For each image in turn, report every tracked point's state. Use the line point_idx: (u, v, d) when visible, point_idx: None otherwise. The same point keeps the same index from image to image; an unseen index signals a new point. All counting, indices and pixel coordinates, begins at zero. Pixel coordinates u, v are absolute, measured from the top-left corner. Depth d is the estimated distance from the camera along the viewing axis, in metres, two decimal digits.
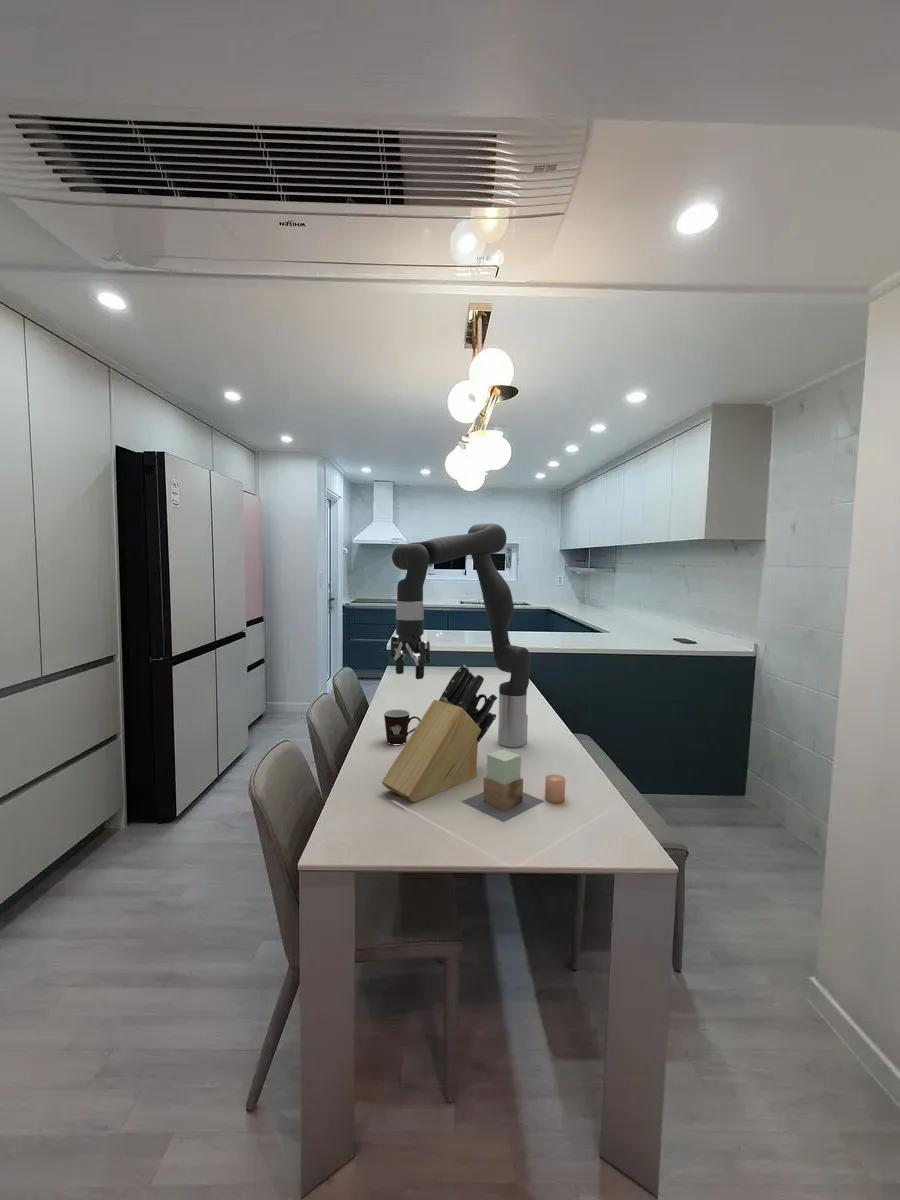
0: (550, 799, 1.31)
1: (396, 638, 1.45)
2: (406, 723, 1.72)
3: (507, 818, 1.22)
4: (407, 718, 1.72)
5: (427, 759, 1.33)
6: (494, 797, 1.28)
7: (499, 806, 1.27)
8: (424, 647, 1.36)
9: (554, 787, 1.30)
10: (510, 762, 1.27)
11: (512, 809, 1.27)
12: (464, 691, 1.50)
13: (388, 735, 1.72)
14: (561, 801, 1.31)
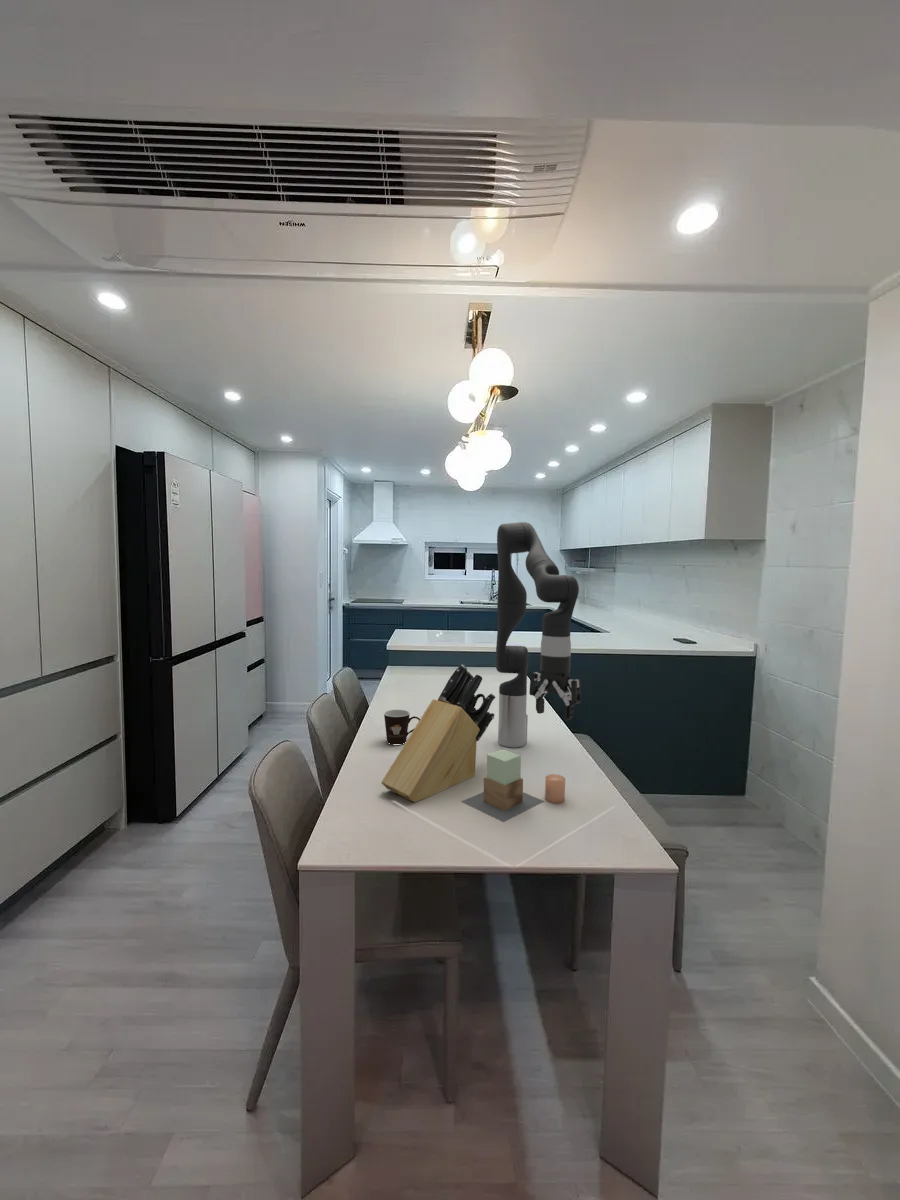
0: (550, 799, 1.31)
1: (537, 675, 1.35)
2: (406, 723, 1.72)
3: (507, 818, 1.22)
4: (407, 718, 1.72)
5: (427, 758, 1.33)
6: (494, 797, 1.28)
7: (499, 806, 1.27)
8: (576, 686, 1.27)
9: (553, 787, 1.30)
10: (510, 762, 1.27)
11: (512, 809, 1.27)
12: (463, 690, 1.51)
13: (388, 735, 1.72)
14: (561, 801, 1.31)
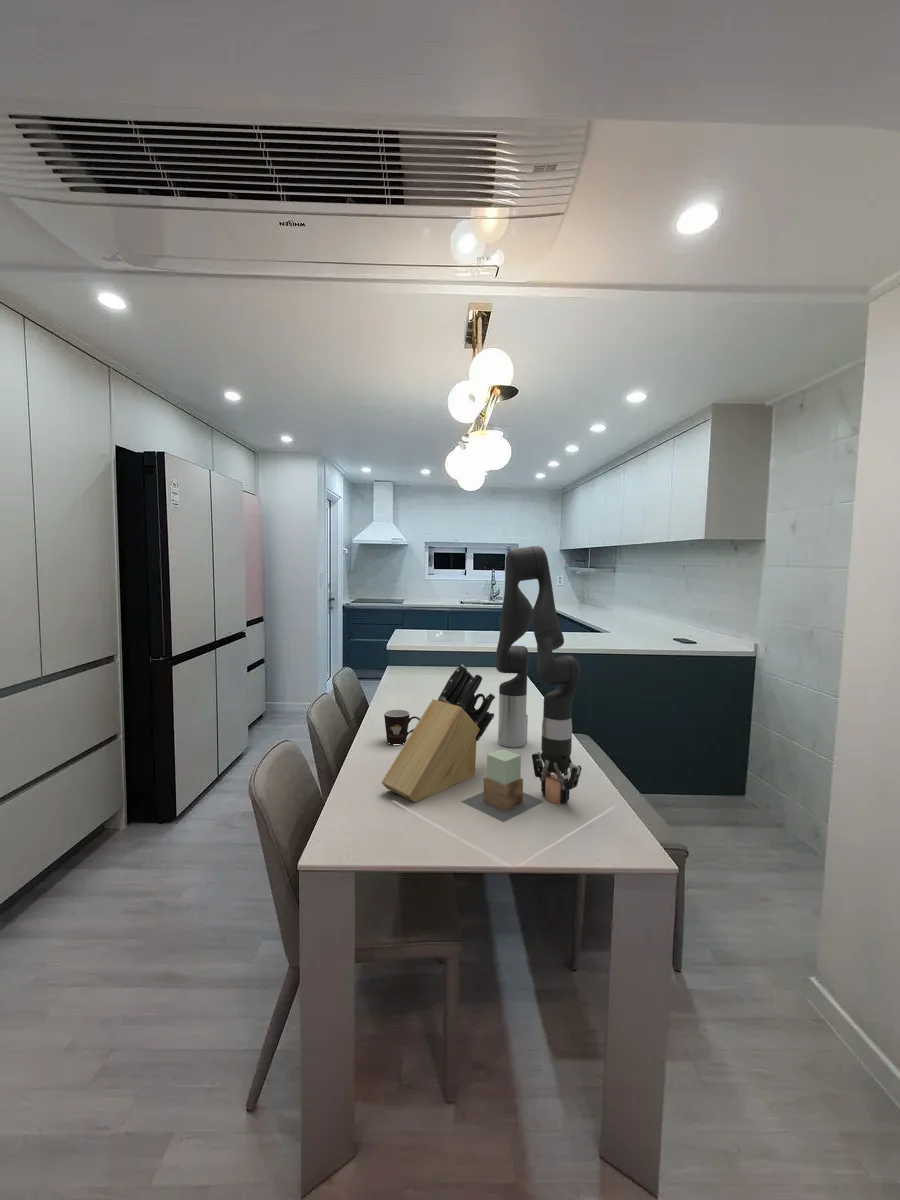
0: (550, 799, 1.31)
1: (538, 755, 1.36)
2: (406, 723, 1.72)
3: (507, 818, 1.22)
4: (407, 718, 1.72)
5: (427, 758, 1.33)
6: (494, 797, 1.28)
7: (499, 806, 1.27)
8: (576, 774, 1.27)
9: (554, 787, 1.30)
10: (510, 762, 1.27)
11: (512, 809, 1.27)
12: (462, 690, 1.51)
13: (388, 735, 1.72)
14: None
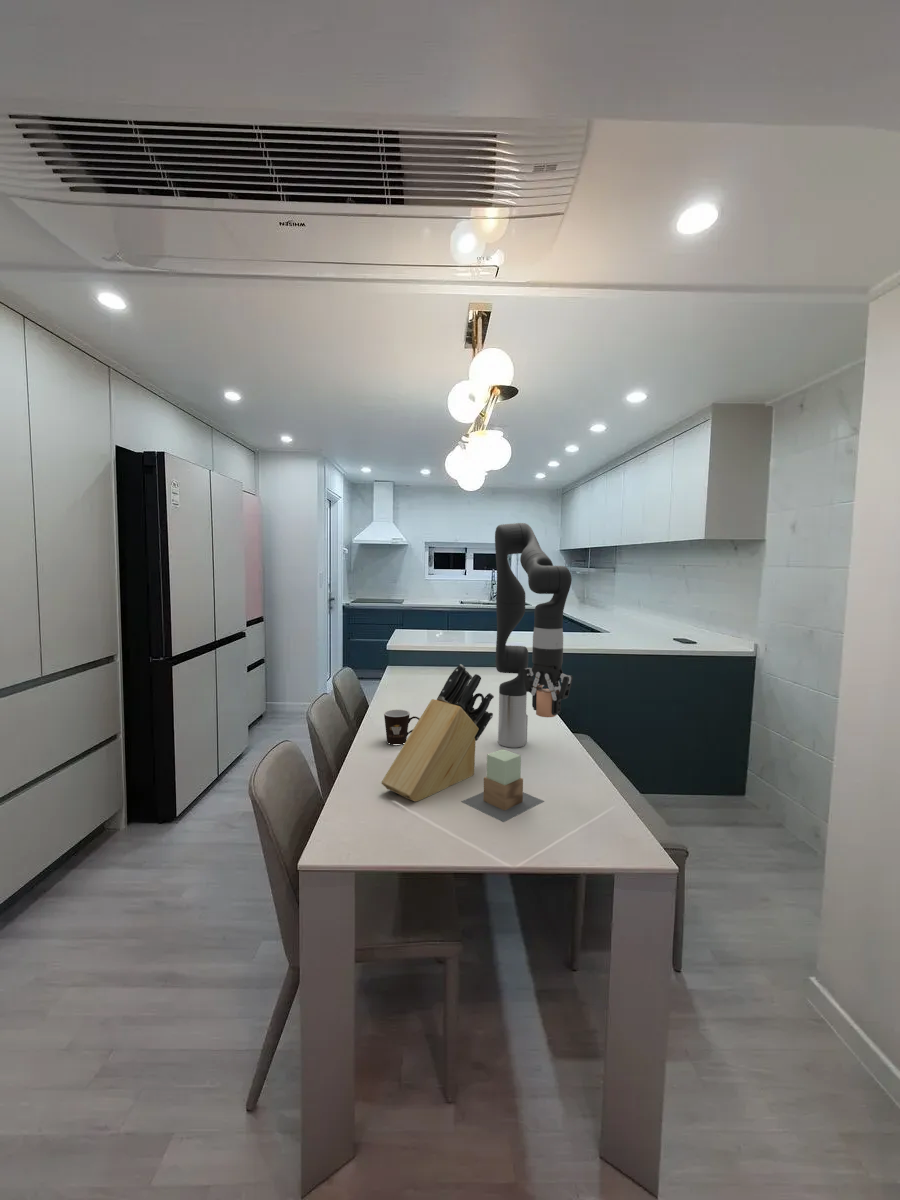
0: (541, 711, 1.29)
1: (528, 669, 1.34)
2: (406, 723, 1.72)
3: (507, 818, 1.22)
4: (407, 718, 1.72)
5: (427, 758, 1.33)
6: (494, 797, 1.28)
7: (499, 806, 1.27)
8: (567, 683, 1.25)
9: (545, 698, 1.28)
10: (510, 762, 1.27)
11: (512, 809, 1.27)
12: (461, 690, 1.51)
13: (388, 735, 1.72)
14: None
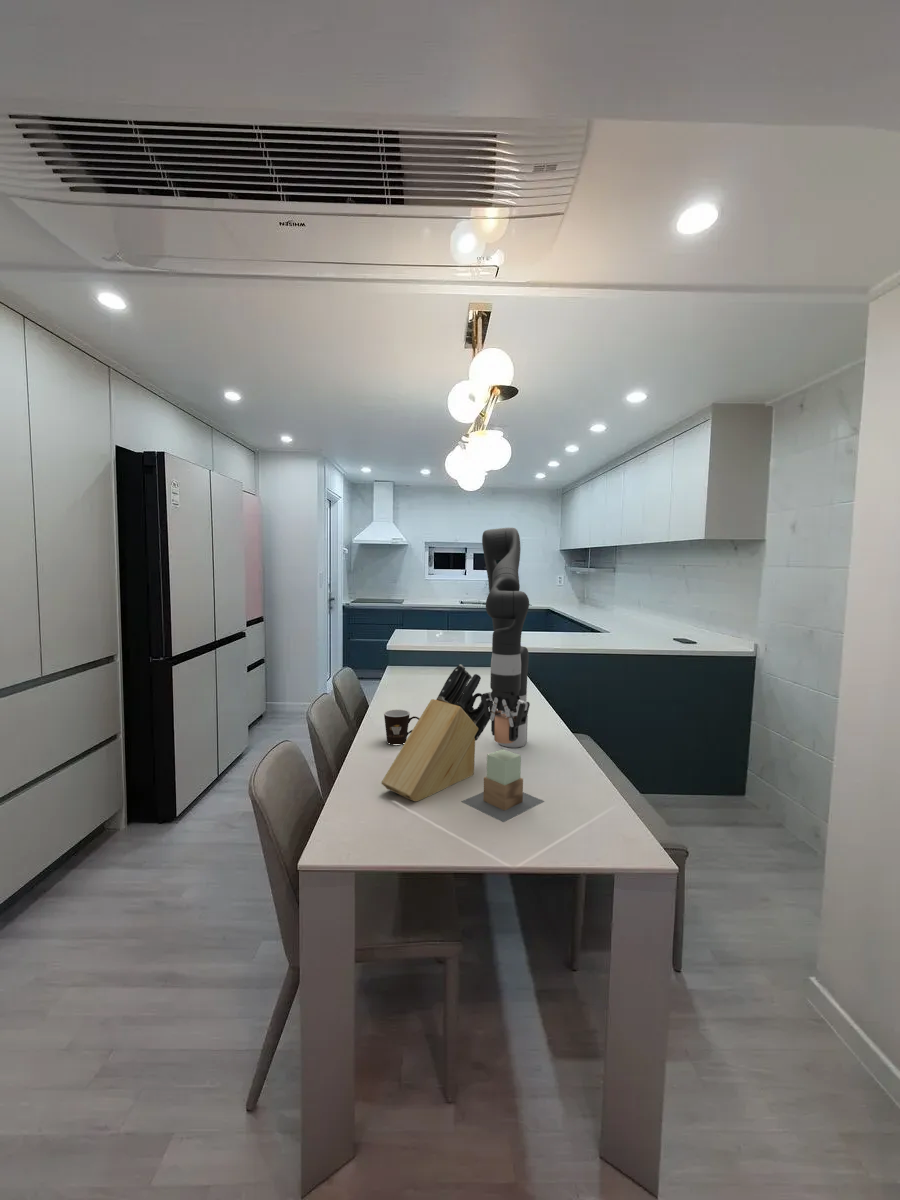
0: (499, 737, 1.28)
1: (488, 694, 1.33)
2: (406, 723, 1.72)
3: (507, 818, 1.22)
4: (407, 718, 1.72)
5: (427, 758, 1.33)
6: (494, 797, 1.28)
7: (499, 806, 1.27)
8: (524, 709, 1.24)
9: (502, 724, 1.27)
10: (510, 762, 1.27)
11: (512, 809, 1.27)
12: (461, 690, 1.51)
13: (388, 735, 1.72)
14: None
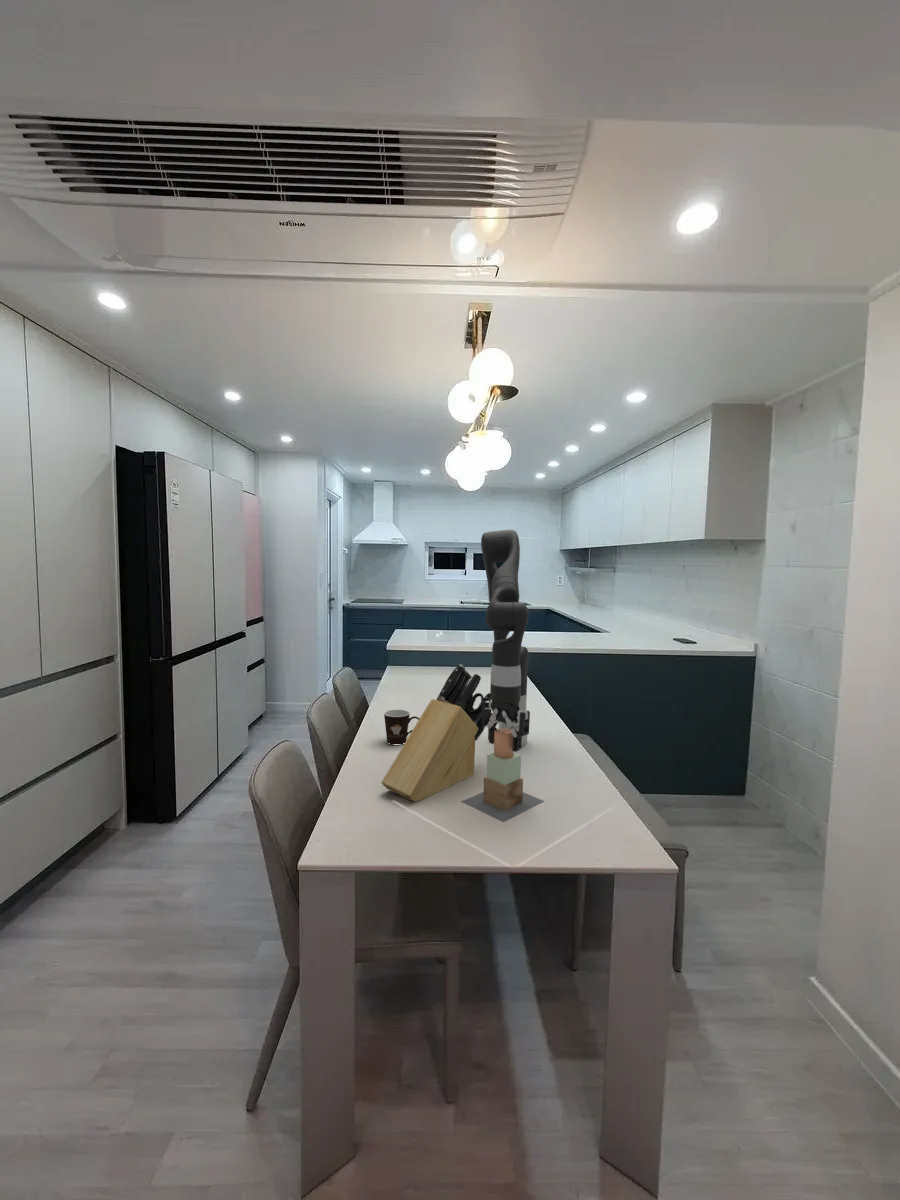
0: (498, 752, 1.28)
1: (488, 703, 1.33)
2: (406, 723, 1.72)
3: (507, 818, 1.22)
4: (407, 718, 1.72)
5: (428, 758, 1.33)
6: (494, 797, 1.28)
7: (499, 806, 1.27)
8: (525, 718, 1.24)
9: (502, 740, 1.28)
10: (510, 762, 1.27)
11: (512, 809, 1.27)
12: (461, 690, 1.51)
13: (388, 735, 1.72)
14: (509, 754, 1.28)
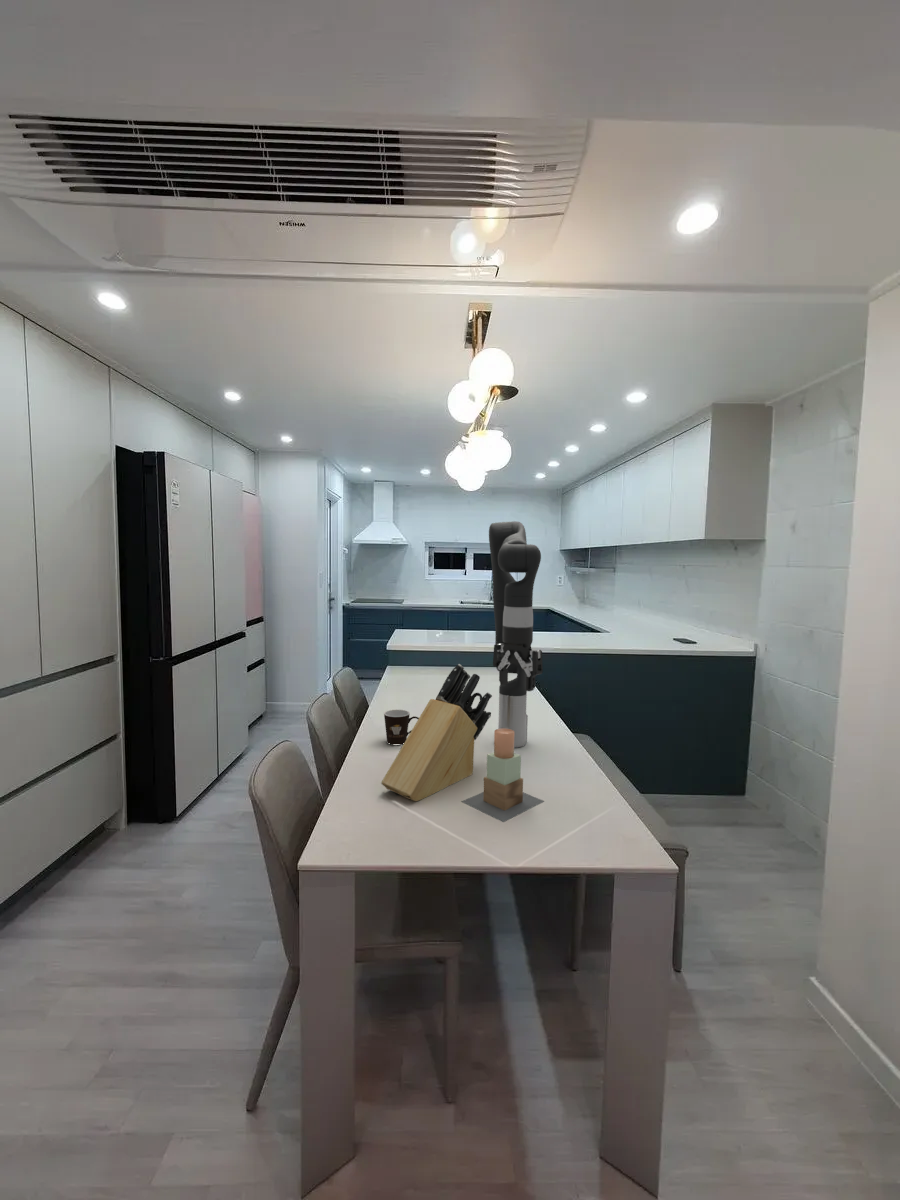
0: (498, 752, 1.28)
1: (500, 646, 1.34)
2: (406, 723, 1.72)
3: (507, 818, 1.22)
4: (407, 718, 1.72)
5: (428, 758, 1.33)
6: (494, 797, 1.28)
7: (499, 806, 1.27)
8: (537, 657, 1.25)
9: (502, 740, 1.28)
10: (510, 762, 1.27)
11: (512, 809, 1.27)
12: (460, 690, 1.52)
13: (388, 735, 1.72)
14: (509, 754, 1.28)
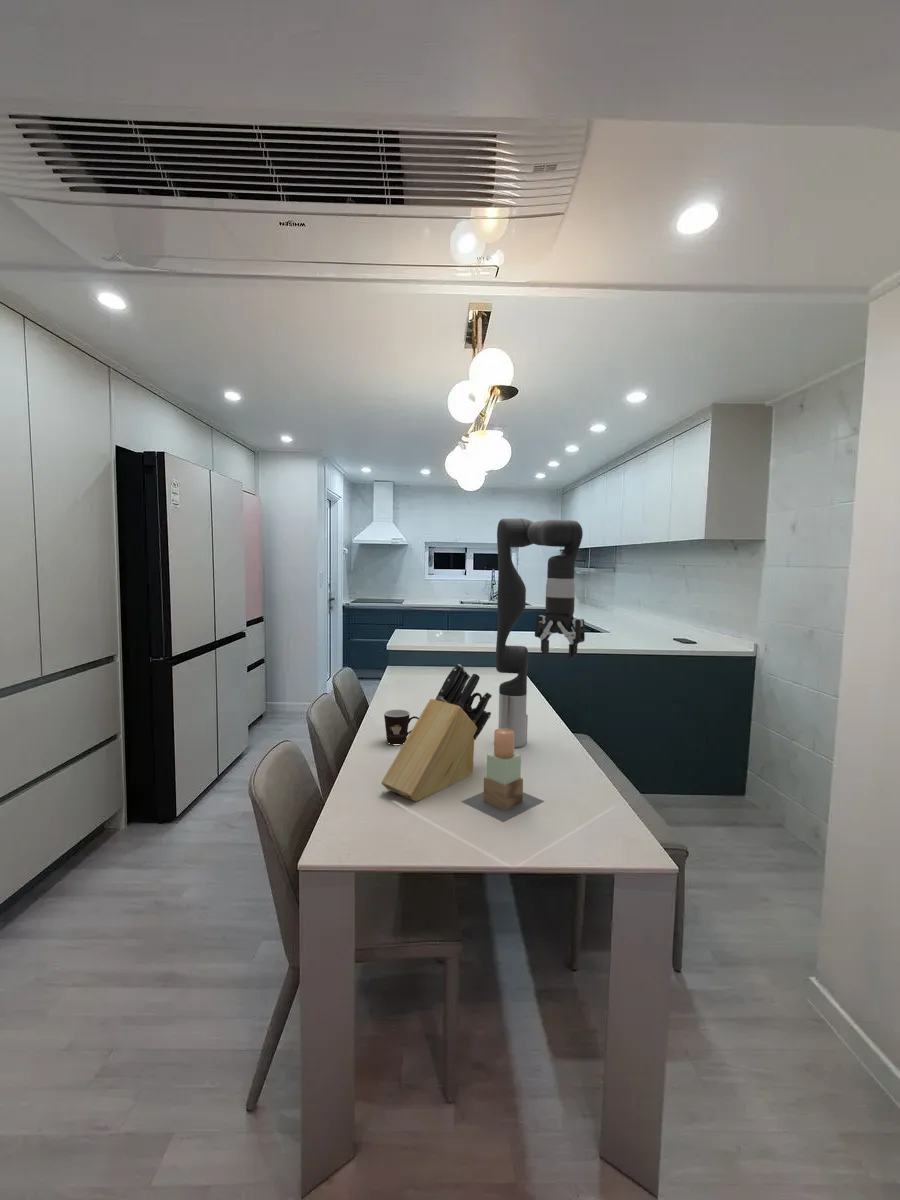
0: (498, 752, 1.28)
1: (542, 617, 1.42)
2: (406, 723, 1.72)
3: (507, 818, 1.22)
4: (407, 718, 1.72)
5: (428, 758, 1.33)
6: (494, 797, 1.28)
7: (499, 806, 1.27)
8: (580, 625, 1.33)
9: (502, 740, 1.28)
10: (510, 762, 1.27)
11: (512, 809, 1.27)
12: (460, 690, 1.52)
13: (388, 735, 1.72)
14: (509, 754, 1.28)
